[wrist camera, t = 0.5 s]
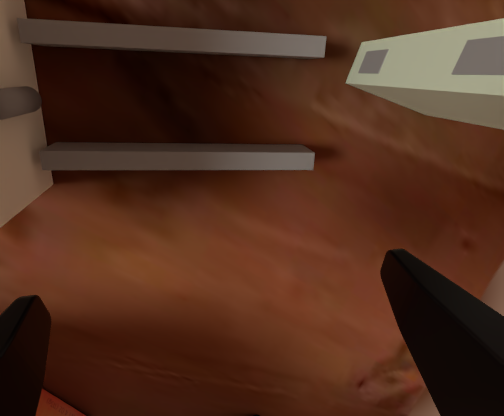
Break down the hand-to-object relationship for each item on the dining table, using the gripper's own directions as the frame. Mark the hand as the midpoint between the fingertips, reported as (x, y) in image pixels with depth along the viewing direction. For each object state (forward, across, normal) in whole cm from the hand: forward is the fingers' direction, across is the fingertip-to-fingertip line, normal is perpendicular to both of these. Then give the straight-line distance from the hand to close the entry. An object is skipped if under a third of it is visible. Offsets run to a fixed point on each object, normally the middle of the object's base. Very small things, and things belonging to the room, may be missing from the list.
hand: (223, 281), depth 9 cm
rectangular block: (+14, -12, +1) cm, 19 cm away
